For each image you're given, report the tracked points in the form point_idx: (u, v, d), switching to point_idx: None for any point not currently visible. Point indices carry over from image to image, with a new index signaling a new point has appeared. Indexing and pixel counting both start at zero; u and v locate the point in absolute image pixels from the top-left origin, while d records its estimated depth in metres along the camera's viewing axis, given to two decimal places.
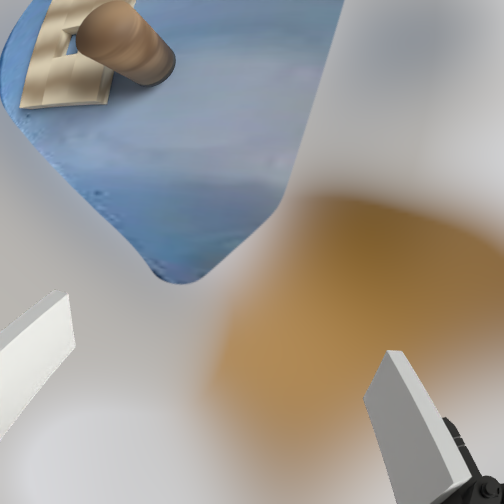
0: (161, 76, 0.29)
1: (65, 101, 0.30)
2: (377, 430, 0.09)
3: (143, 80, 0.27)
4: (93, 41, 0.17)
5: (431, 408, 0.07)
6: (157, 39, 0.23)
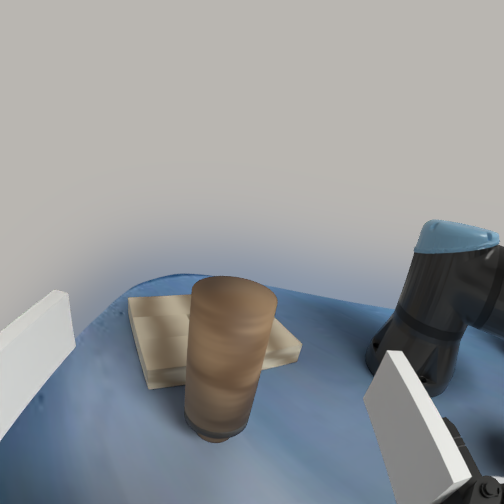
0: (205, 425, 0.21)
1: (139, 339, 0.32)
2: (377, 430, 0.09)
3: (190, 404, 0.22)
4: (213, 290, 0.20)
5: (430, 408, 0.07)
6: (250, 383, 0.21)
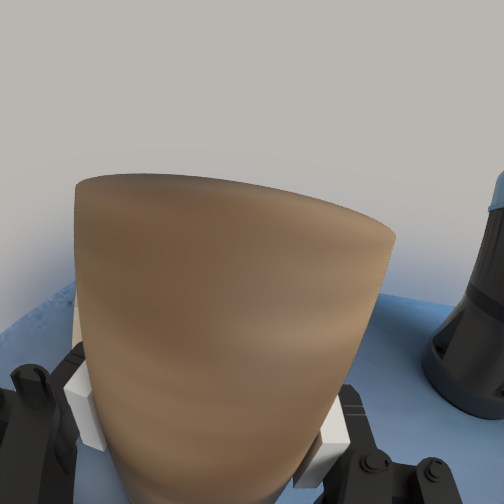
0: None
1: (74, 342, 0.17)
2: None
3: (128, 499, 0.07)
4: (161, 184, 0.06)
5: None
6: (283, 484, 0.06)
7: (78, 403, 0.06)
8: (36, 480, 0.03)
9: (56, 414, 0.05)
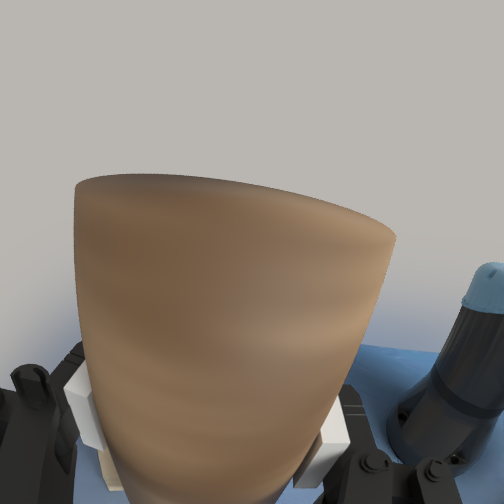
0: None
1: None
2: None
3: (129, 499, 0.07)
4: (161, 183, 0.05)
5: None
6: (283, 484, 0.06)
7: (78, 403, 0.06)
8: (36, 480, 0.03)
9: (56, 414, 0.05)
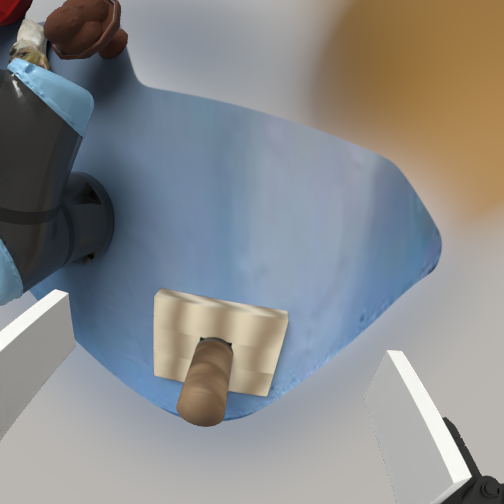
0: (227, 350, 0.42)
1: (279, 350, 0.44)
2: (377, 430, 0.09)
3: (231, 364, 0.42)
4: (210, 417, 0.32)
5: (430, 408, 0.07)
6: (203, 364, 0.37)
7: None
8: None
9: None
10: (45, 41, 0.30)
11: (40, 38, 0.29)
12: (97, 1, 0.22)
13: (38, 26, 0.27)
